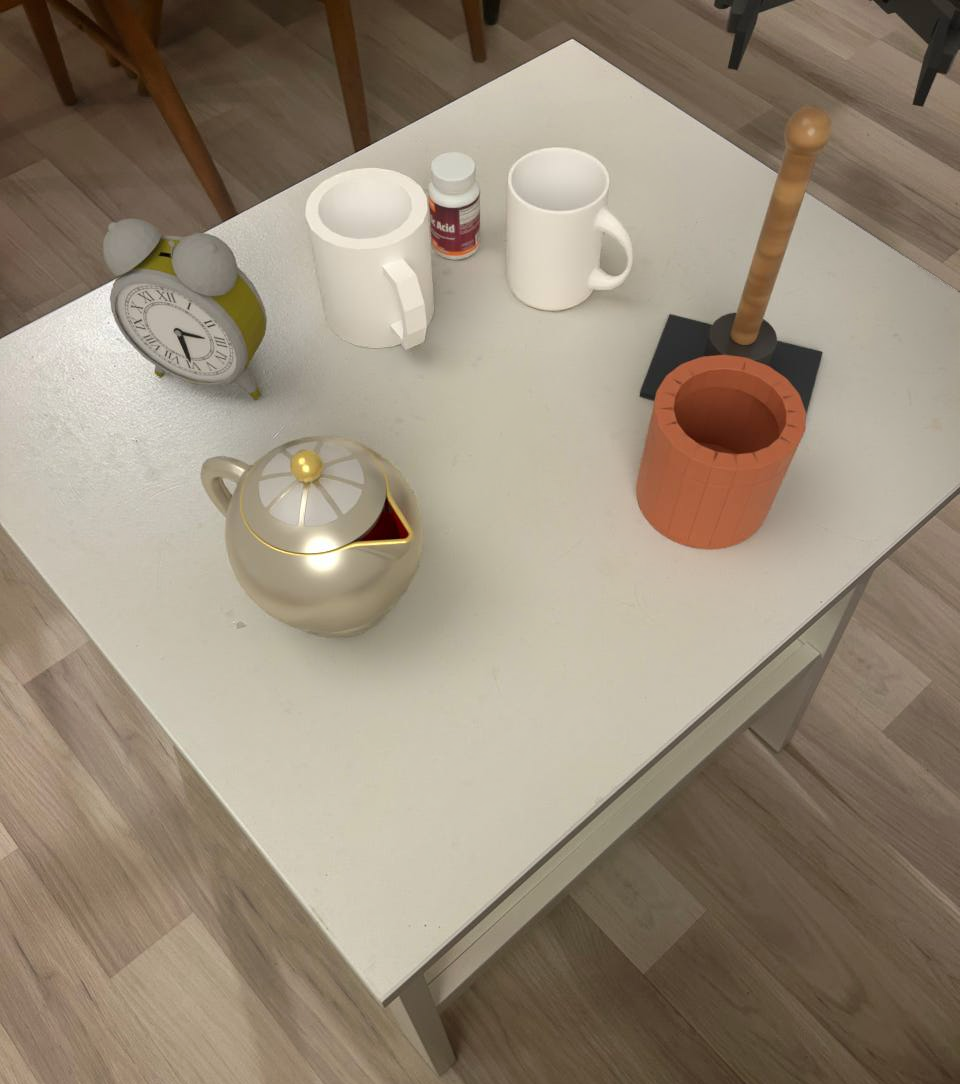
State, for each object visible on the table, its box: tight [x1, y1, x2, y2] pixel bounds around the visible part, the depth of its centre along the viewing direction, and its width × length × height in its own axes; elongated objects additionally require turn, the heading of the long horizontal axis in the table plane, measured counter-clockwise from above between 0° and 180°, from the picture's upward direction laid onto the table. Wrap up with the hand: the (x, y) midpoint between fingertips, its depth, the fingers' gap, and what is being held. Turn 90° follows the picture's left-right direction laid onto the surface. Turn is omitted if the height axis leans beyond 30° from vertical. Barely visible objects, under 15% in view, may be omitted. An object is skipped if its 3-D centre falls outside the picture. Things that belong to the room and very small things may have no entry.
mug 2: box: [505, 146, 634, 312], centre depth 83 cm, size 9×12×11 cm
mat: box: [639, 313, 824, 415], centre depth 82 cm, size 14×10×1 cm
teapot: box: [200, 435, 424, 639], centre depth 65 cm, size 18×14×16 cm
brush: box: [703, 105, 833, 366], centre depth 71 cm, size 6×6×24 cm
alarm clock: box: [102, 218, 268, 400], centre depth 76 cm, size 12×7×15 cm, turn 73°
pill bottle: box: [427, 151, 481, 261], centre depth 87 cm, size 5×5×8 cm
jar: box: [635, 355, 807, 550], centre depth 72 cm, size 11×11×10 cm
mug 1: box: [304, 167, 435, 351], centre depth 81 cm, size 14×10×11 cm
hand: (829, 69), depth 67 cm, fingers open, 13 cm apart
